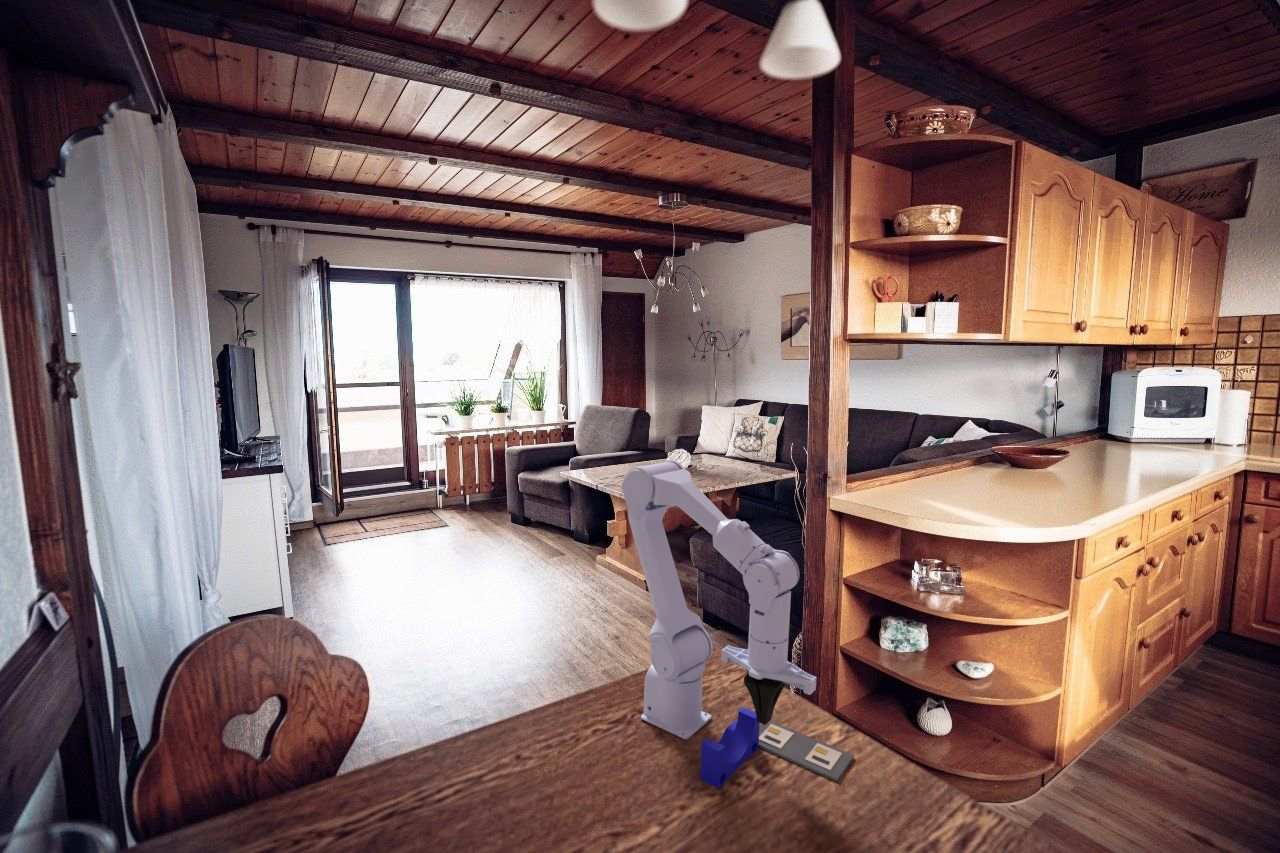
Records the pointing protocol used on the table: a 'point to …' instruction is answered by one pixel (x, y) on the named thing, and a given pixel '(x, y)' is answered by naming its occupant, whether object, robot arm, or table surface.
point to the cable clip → (730, 749)
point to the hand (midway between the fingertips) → (764, 720)
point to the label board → (804, 750)
